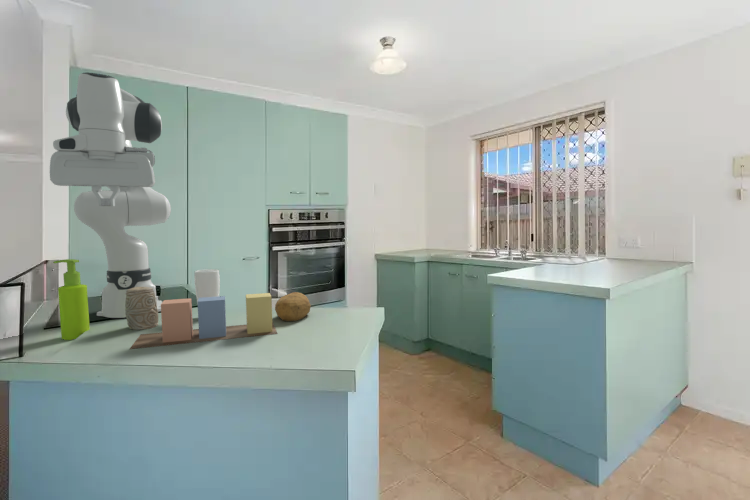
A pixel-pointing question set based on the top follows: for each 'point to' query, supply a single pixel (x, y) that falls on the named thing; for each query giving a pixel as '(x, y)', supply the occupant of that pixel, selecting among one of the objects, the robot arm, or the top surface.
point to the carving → (141, 308)
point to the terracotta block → (176, 320)
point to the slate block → (211, 317)
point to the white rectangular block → (207, 283)
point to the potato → (292, 307)
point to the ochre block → (259, 313)
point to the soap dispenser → (73, 303)
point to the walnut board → (196, 337)
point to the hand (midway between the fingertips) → (107, 206)
